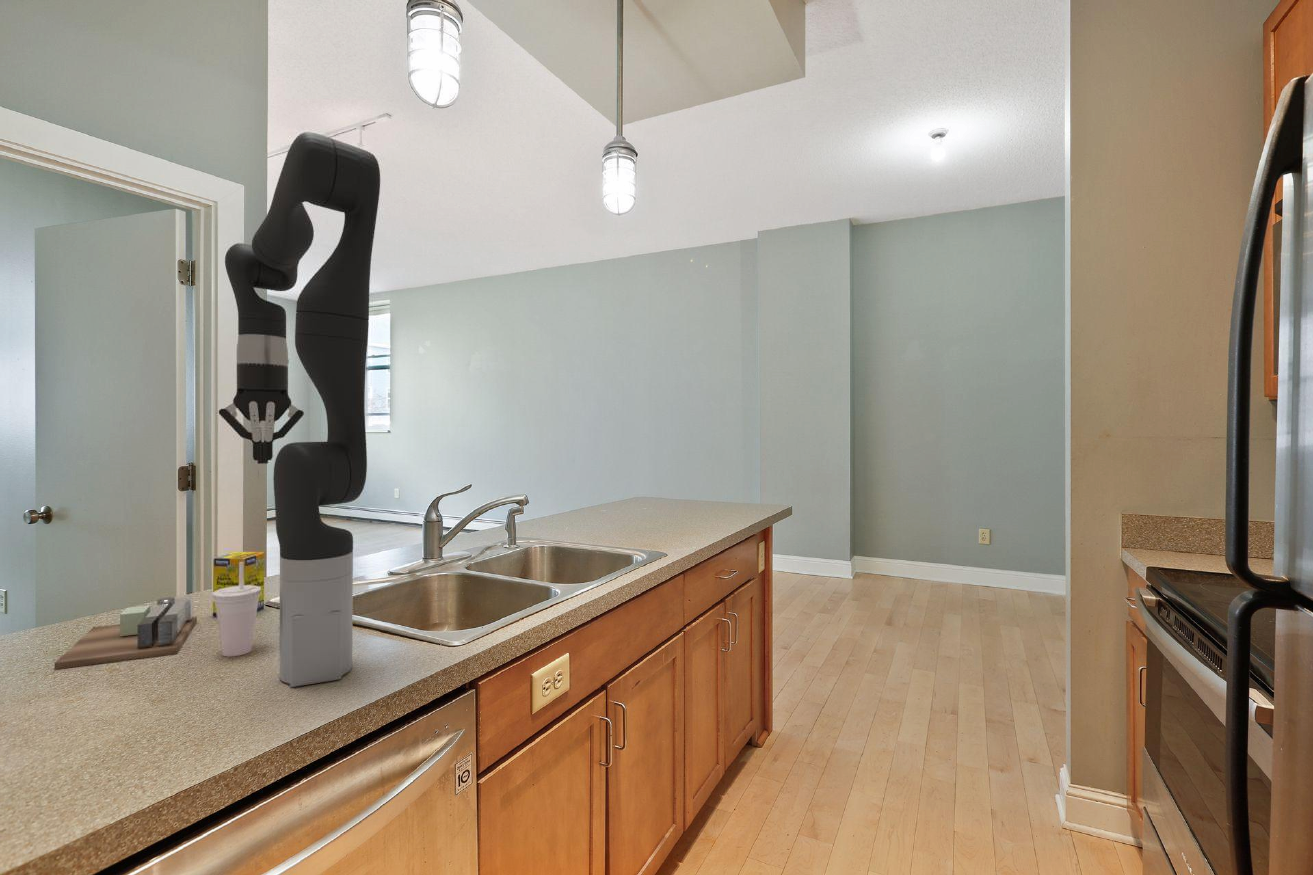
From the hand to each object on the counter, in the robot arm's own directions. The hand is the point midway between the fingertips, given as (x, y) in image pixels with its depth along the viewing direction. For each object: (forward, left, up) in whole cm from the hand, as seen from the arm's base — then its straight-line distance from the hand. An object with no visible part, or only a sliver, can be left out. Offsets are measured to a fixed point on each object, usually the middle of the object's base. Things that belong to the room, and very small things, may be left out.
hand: (263, 463), depth 107 cm
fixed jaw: (0, +13, -28) cm, 31 cm away
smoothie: (-12, +3, -29) cm, 31 cm away
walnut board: (0, +18, -29) cm, 34 cm away
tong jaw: (-2, +15, -27) cm, 31 cm away
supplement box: (+11, +5, -29) cm, 31 cm away
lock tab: (+2, +18, -27) cm, 33 cm away
